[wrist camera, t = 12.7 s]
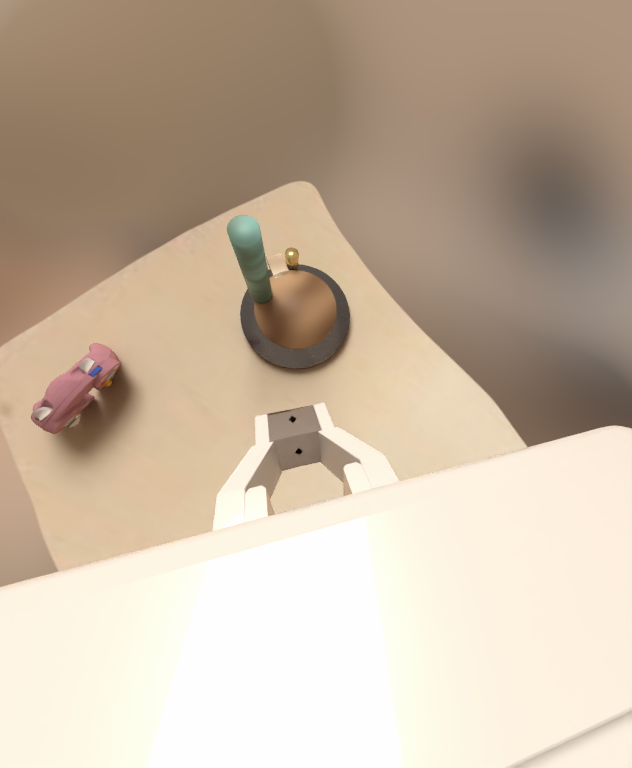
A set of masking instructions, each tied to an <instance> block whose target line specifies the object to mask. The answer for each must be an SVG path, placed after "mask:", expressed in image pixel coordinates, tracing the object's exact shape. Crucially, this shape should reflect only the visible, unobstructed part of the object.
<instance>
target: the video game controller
mask: <svg viewBox="0 0 632 768" xmlns="http://www.w3.org/2000/svg"><path fill="white" fill-rule="evenodd" d="M89 349H90V353H89V354H87V355H86V356H85V357H84V358H82V359H81V360H80V361H79V362H77V363H76V364H75V365H74V366H73V367H72V368H71V369H70V370H69V371H68V372H66V373H65V374H63V375H60V376H59V377H57V378H56V379H54V380H53V381H52V382H51V383H50V385H49V387H48V388H47V390H46V394H45V396H44V398H43V399H42V400H41V401H40V402H37V403H36V404H34V406H33V413H32V415H31V419H32V421H33V422H34V423H35V424H36V425H38V426H39V427H41V428H43V430H45V431H48V432H50V433H52V434H56V433H57V432H59V431H60V430H61V429H63V428H64V427H65V426H68V425H70V424H71V425H70V427H69V428H71V427H73V426H76V425H77V424H78V423H79V420H80V418H77V419H76V416H77V415H78V414H79V413H80V412H81V411H83V410H84V409H85V408H86V407H87V406H88V405H89V404H90V403H91V402H92V401H93V399H94V396H92V395H90V394H88V392H89V391H90V390H91V389H92V388H93V387H94V388H95V389H97V390H101V389H103V388H104V387H105V386H107V387H108V386H110V385H111V384H112V381H111V380H112V378H113V377H114V374H115V372H116V371H117V369H118V368H119V366H120V365H121V363H120V362H119V361H118V358H117V356H116V354H115V353H114V352H113V351H112V350H111V349H110V348H108V347H106V346H104V345H101V344H98V343H93V344H91V345H90V347H89ZM75 419H76V420H75Z"/></svg>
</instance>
